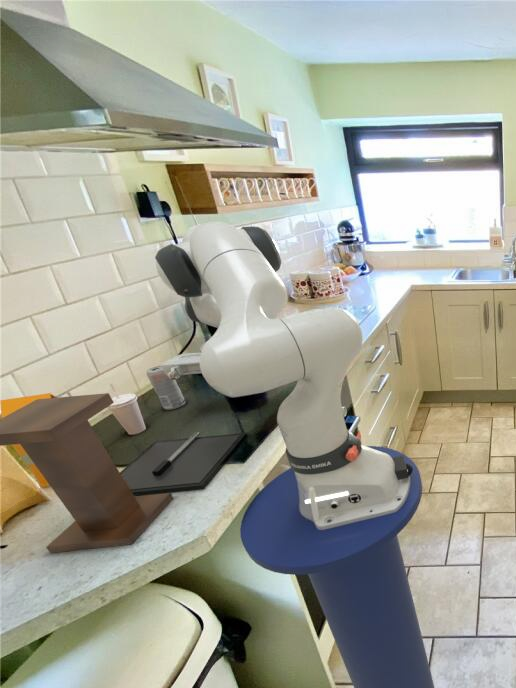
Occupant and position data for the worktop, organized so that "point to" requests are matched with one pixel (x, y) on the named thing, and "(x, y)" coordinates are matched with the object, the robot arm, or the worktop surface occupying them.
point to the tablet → (180, 464)
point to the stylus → (173, 456)
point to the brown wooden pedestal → (81, 472)
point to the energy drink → (165, 388)
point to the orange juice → (6, 409)
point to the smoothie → (127, 412)
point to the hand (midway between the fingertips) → (191, 375)
